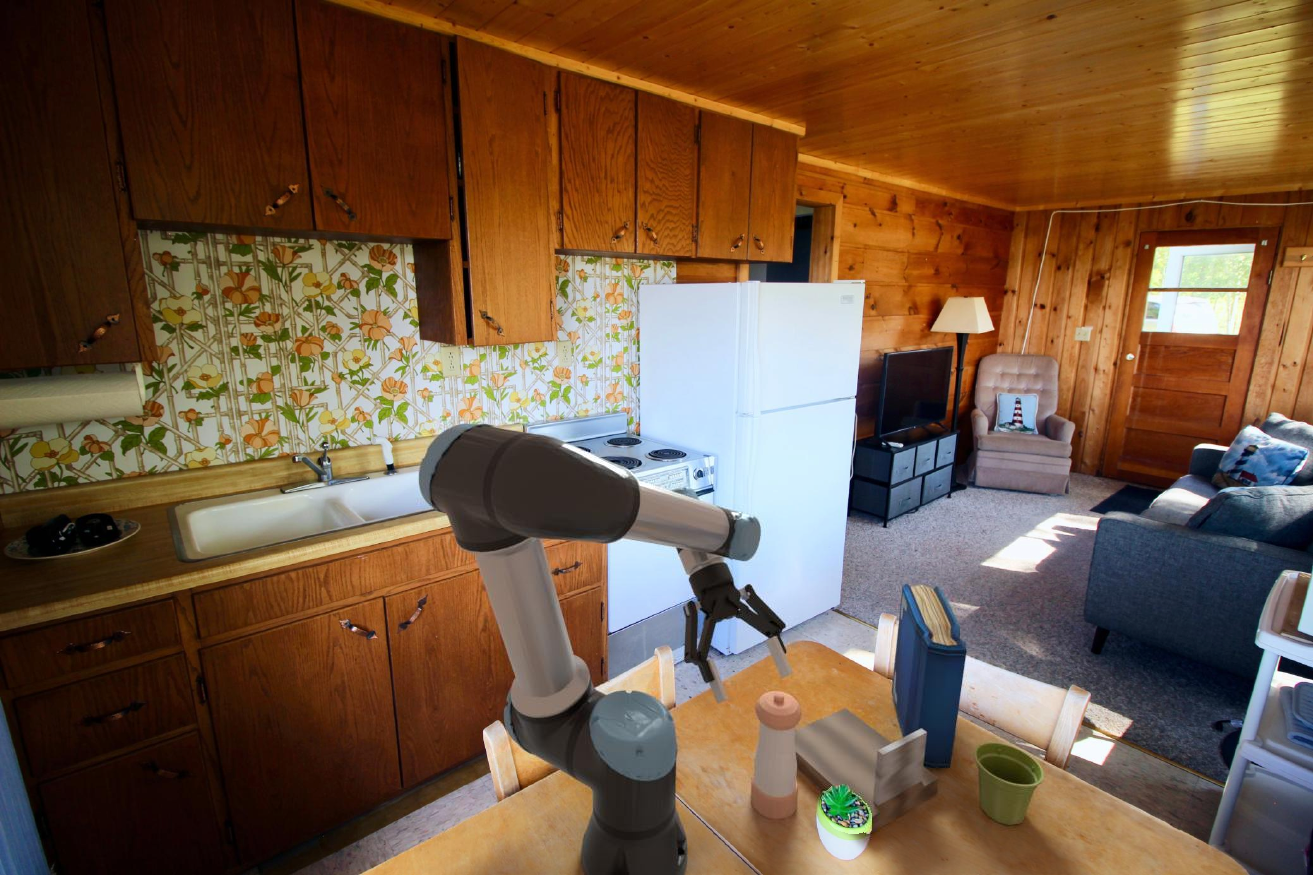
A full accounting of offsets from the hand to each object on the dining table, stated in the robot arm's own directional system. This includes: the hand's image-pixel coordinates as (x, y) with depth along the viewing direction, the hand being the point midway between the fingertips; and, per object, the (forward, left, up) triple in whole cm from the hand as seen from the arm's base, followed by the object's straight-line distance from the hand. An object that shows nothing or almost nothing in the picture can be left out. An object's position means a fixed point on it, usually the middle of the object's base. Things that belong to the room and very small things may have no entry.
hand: (756, 688), depth 101 cm
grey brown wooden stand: (+15, -9, -16) cm, 23 cm away
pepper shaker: (-1, -7, -16) cm, 17 cm away
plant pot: (+29, -26, -16) cm, 42 cm away
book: (+33, -8, -16) cm, 37 cm away
